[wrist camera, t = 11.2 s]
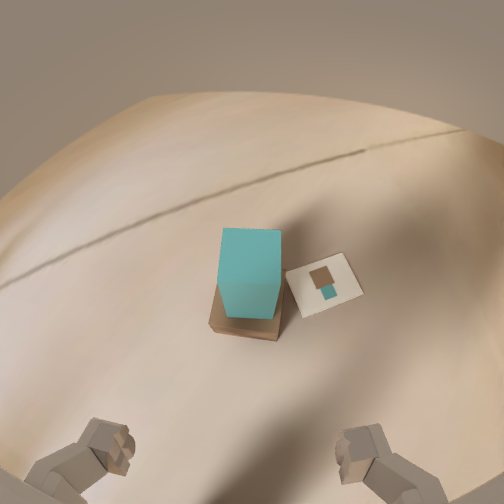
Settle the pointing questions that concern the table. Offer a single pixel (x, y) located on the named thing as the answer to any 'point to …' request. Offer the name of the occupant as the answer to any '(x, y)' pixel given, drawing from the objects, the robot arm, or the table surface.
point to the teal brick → (250, 272)
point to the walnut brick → (246, 319)
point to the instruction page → (323, 285)
